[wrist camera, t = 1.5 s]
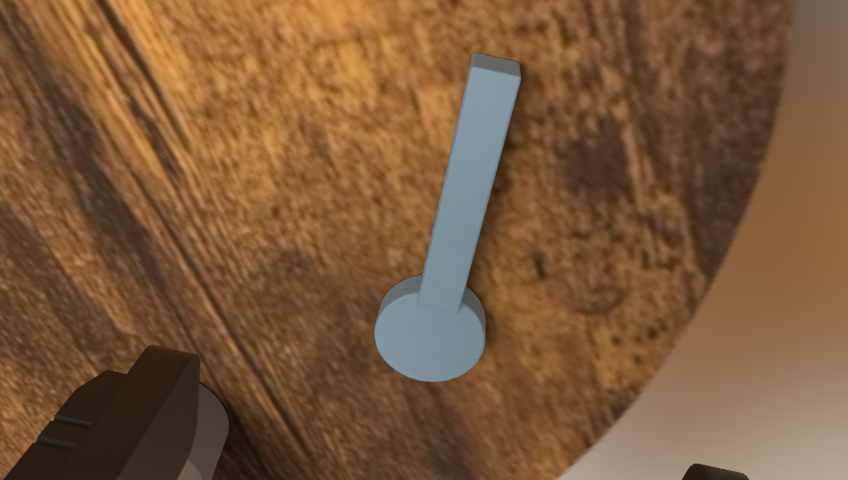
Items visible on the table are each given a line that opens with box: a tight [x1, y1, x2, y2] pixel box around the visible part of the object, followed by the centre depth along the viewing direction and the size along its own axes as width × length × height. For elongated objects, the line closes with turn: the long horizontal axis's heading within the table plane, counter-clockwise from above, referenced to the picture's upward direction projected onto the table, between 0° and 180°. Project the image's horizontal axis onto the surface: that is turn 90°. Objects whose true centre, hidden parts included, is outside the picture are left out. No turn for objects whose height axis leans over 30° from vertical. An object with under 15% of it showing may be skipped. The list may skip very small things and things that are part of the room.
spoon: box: [374, 53, 521, 382], centre depth 22 cm, size 11×4×2 cm, turn 169°
